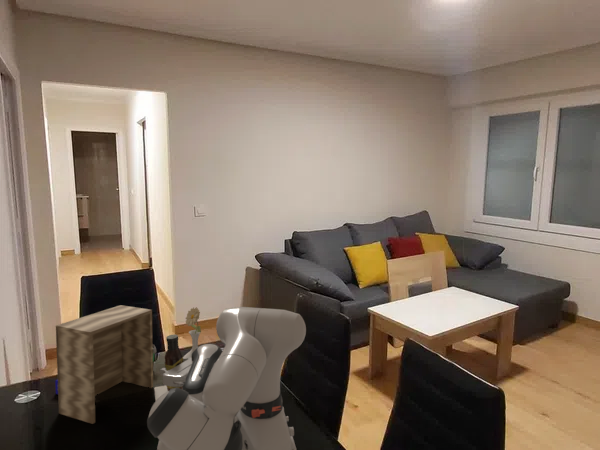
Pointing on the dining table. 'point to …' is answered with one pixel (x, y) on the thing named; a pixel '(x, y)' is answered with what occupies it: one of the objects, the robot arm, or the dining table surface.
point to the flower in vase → (191, 320)
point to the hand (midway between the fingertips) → (170, 365)
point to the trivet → (160, 391)
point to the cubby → (102, 357)
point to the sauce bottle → (172, 355)
